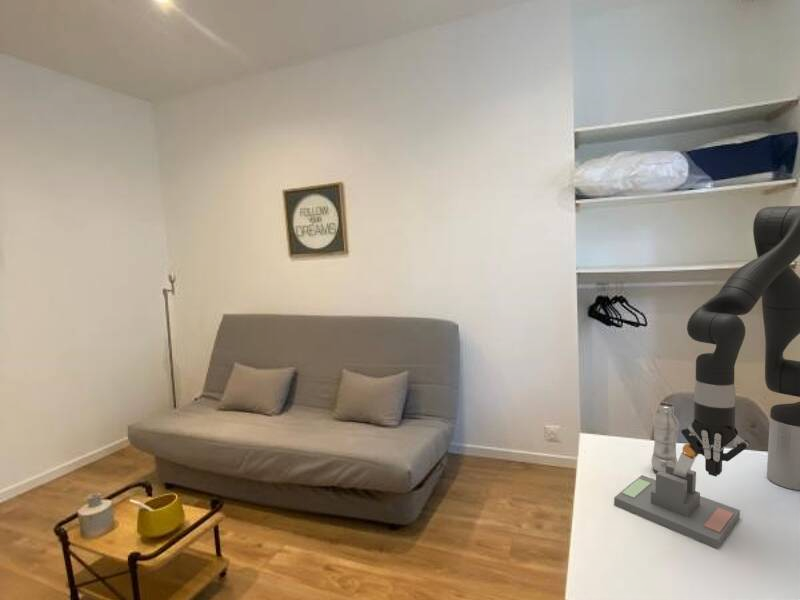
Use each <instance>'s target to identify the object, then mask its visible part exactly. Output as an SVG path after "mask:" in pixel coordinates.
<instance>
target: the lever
mask: <svg viewBox="0 0 800 600" xmlns="http://www.w3.org/2000/svg"><path fill="white" fill-rule="evenodd" d="M681 450H682V452H681V453H680V456H679V458H678V459H677V464H676V467H675V469H674V471H673V474H672V475H673V476H676V477H679V478H682V479H685V480H686V478H687V476H688V474H689V471H690V470H692V467H693V465H694V462H695V461H696V458H697V457H698V456H699V454H697V453H696V452H695V450H694V449H693V448H692V446H691V445H690V444H689V443H686V444H684V445H683V446H682V449H681Z"/></svg>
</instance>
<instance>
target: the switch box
mask: <svg viewBox="0 0 800 600" xmlns="http://www.w3.org/2000/svg"><path fill="white" fill-rule="evenodd" d="M675 467H676V465H674V464H671V463H668V464H667V465H666V471H665V473H664V472H661V471H659V472H656V473H655V479H653V478H651V477H648V476H645V475H643V474H641V475H640V476H638V477H637V478H636V479H635V480H634V481H633V482H631V483H630V484H629V485H628V486H626V487H625V488H624V489H622V491H620V492H619V493H618V494H616V496H614V498H613V505H614V506H616V507H618V508H621V509H622V510H625V511H627V512H629V513H632V514H634V515H637V516H639V517H641V518H644V519H645V520H648V521H651V522H653V523H656V524H658V525H660V526H662V527H665V528H668V529H670V530H672V531H674V532H676V533H679V534H681V535H683V536H686V537H688V538H690V539H693V540H696V541H698V542H700V543H702V544H705V545H707V546H709V547H712V548H714V549H716V550H718V549H719V548H720V547H721V545H722V544H723V542H724V541H725V539H726V538H727V536H728V535H729V534H730V532H732V530H733V529H734V527H735V525H736V524H737V523H738V522H739V520H740V518H741V517H740V516H741V510H740V509H738V508H735V507H732V506H729V505H726V504H724V503H721V502H718V501H715V500H712V499H710V498H706V497H705V496H702V495H701V492H699V491H696V487H697V486H696V483H697V477H696V476H697V471H696V470H692V469H690V471H689V474H688V476H687V478H686V480H685V479H682V478H679V477H676V476H673V475H672V474H673V471H674V469H675Z"/></svg>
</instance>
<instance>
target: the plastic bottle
mask: <svg viewBox="0 0 800 600" xmlns="http://www.w3.org/2000/svg"><path fill="white" fill-rule="evenodd" d="M674 409H675V407H674V404H672V403H670V402H659V403H658V413H657V414H655V416H654V417H653V420H652V426H653V427H652V428H653V432H654V433H653V434H654V436H653V438H654V440H653V441H654V446H653V451H652V452H653V453H652V455H651V467H652V468H653V470H654V471H656V473H658V472H659V471H661V472H664V473H665V471H666V465H667V464H668V463H671V464H674V465H676V464H677V462H678V458H677V440H678V432H679V429H680V423H679V420H678V419H677V418H676V416H675V415H674V414H675V410H674Z"/></svg>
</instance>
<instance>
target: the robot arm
mask: <svg viewBox="0 0 800 600" xmlns="http://www.w3.org/2000/svg"><path fill="white" fill-rule="evenodd" d="M752 229H753V230H752V232H753V241H754V245H755V246H754V247H755V251H756V258H754V259H753V260H751V261H748V263H746V264H744V265H742V266H741V267H739V268H737V269H736V270H735V271H734V272H733V273H732V274H731V275H730V276H729V278H728V279H727V280H726V281H725V283H724V285H723V286H722V287H721V288H720V290H719V291H718V293H716V295H714V296H713V297H711V298H710V299H708V300H707V301H706V302H705V303H703V304H702V305H701V306H700V307H698V308H697V309H696V310H694V312H693V313H692V314H691V316H690V317H689V319H688V321H687V324H686V331H687V335H688V336H689V337H690V338H691V339H692V340H694V341H696V342H698V343H699V342H700V343H704V344H709V345H715V349H714V351H713V353H712V352H709V353H708V352H707V353H701V354H699V355H697V356H696V359H695V382H694V383H695V384H694V386H693V388H694V389H693V390H694V391H693V420H692V423H691V425H690V426H685V427H684V428H683V429H682V430H681V431H680V433H681V434H682V436H683V438H685V439H686V441H687V442H688V444H690V445H691V446H692V448H693V449H694V450H695V452H696V453H697V454H698V455H701V456H703V457H704V458H705V460H704V461H705V467H704V468H705V471H706V472H707V473H708V475H709V476H713V477H715V478H716V477H718V476H720V475H721V473H722V472H723V462H729V461H731V460H732V459H733V458H735V457H736V456H737V455H739V454H740V453H742V452H743V451H745V450H746V449H747V448H748V447H749V446H750V442H749V441H748V440H747V439H743V438H742V437H740V436H739V433H738V430H737V428H736V389H735V365H736V362H737V359H738V357H739V353H740V350H741V347H742V346H743V343H744V340H745V337H746V326H745V323H744V321H743V320H742V319H741V317H739V316H744V315H746V314H749V313H750V312H751V311H752V310H753V309H754V307H755V306H756V304H758V301H759V300H760V298H761V308H762V319H763V326H764V337H765V355H764V356H765V358H764V381H765V385H766V387H767V389H768V390H769V391H770V392H773V393H778V394H781V395H782V394H783V395H786V396H787V395H788V396H792V397H797V398H800V360H794V359H793V360H791V359H787V358H784V352H785V350H786V349H787V348H788V346H789V344H790V343H791V342H792V341H793V340H794V339H796V337H798V336H799V335H800V276H799V275H798V274H797V273H796V272H795V271H794V269H792V267H791V266H790V265H791V264H792V263H793V262H794V261H795V260H797V258H799V256H800V205H791V206H789V205H785V206H766V207H763V208H761V209H759V211H758V212H757V213H756V215H755V217H754V220H753V226H752ZM769 413H770V416H769V429H768V430H769V431H768V445H767V446H768V447H767V448H768V449H767V450H768V451H767V461H766V464H767V465H766V478H767V480H769V481H770V482H772V483H773V484H775V485H777V486H780V487H783V488H786V489H790V490H795V491H800V401H796V402H793V403H780V404H775V405H773V406H772V407H771V408H770V411H769ZM732 441H734V442H733V443H732V445H733V446H734V447H733V448H732V449H730V450H728V452H726V453H725V452H724V451H725V450H724V449H725V447H726V446H727V445H729V443H731V442H732Z"/></svg>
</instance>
